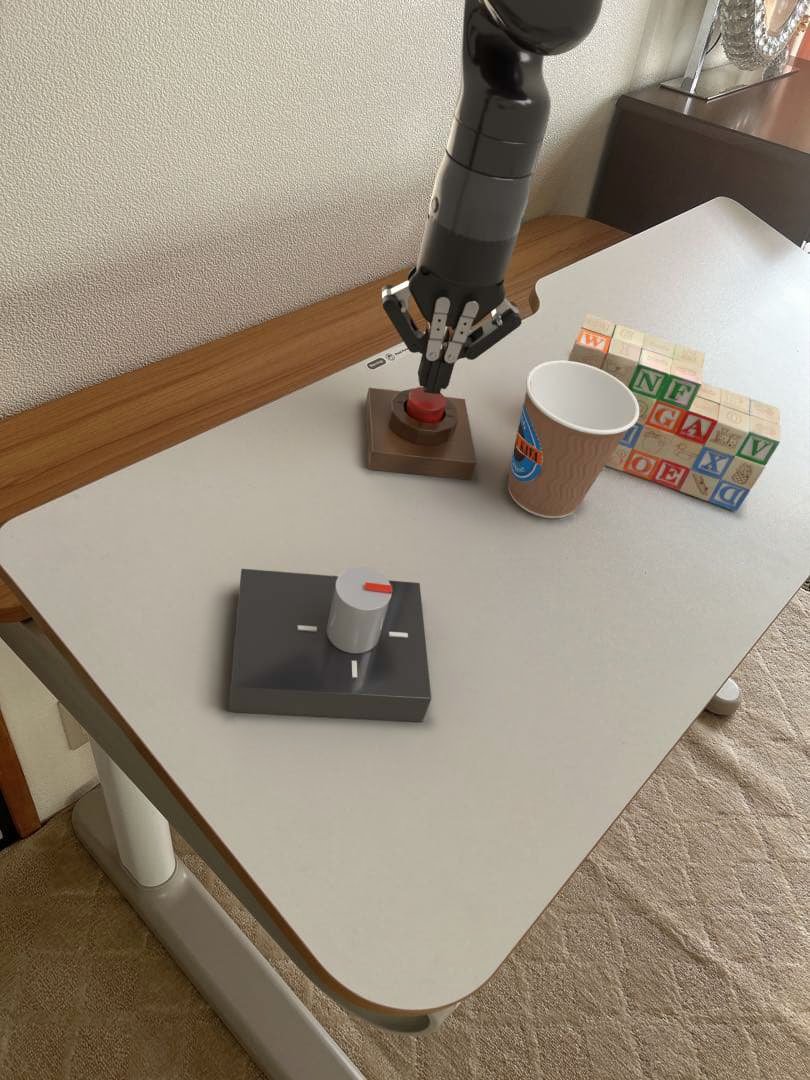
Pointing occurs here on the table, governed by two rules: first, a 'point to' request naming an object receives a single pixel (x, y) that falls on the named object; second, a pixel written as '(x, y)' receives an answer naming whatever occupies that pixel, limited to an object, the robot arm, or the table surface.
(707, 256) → the table surface
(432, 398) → the button
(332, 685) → the stove panel
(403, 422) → the button block
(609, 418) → the coffee cup
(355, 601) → the stove knob
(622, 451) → the stack of blocks
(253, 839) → the table surface
